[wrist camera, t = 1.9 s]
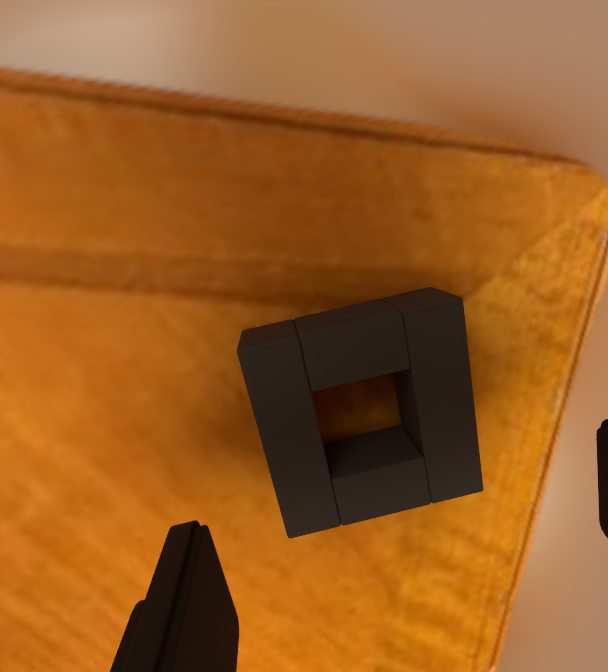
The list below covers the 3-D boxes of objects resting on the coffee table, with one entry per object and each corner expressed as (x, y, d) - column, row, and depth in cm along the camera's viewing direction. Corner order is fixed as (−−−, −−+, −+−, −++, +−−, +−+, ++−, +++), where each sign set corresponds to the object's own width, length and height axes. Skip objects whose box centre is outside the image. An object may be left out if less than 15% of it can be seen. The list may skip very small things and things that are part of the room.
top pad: (241, 330, 14) (235, 349, 12) (431, 286, 14) (463, 296, 12) (285, 495, 16) (288, 540, 13) (453, 454, 16) (484, 491, 14)
